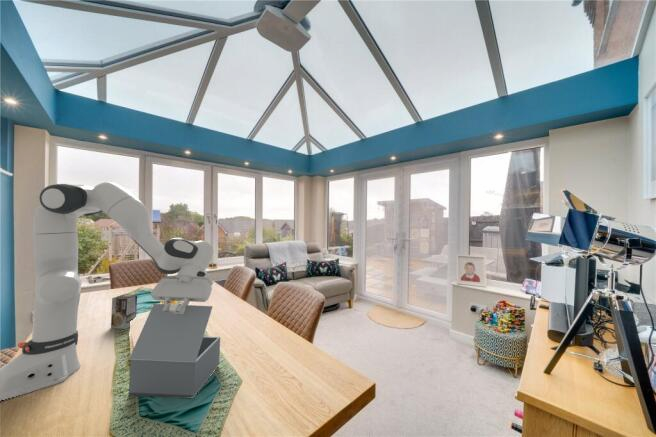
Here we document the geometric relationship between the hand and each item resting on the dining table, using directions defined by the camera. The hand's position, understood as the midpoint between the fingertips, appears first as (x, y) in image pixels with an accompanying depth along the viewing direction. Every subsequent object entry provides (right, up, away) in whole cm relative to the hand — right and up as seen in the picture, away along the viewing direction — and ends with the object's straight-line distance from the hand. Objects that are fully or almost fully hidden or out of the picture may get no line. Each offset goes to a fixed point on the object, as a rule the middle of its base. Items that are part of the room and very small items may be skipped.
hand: (171, 311), depth 83 cm
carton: (-1, -27, +5) cm, 28 cm away
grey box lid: (0, -8, +2) cm, 8 cm away
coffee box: (-57, -26, +47) cm, 78 cm away
